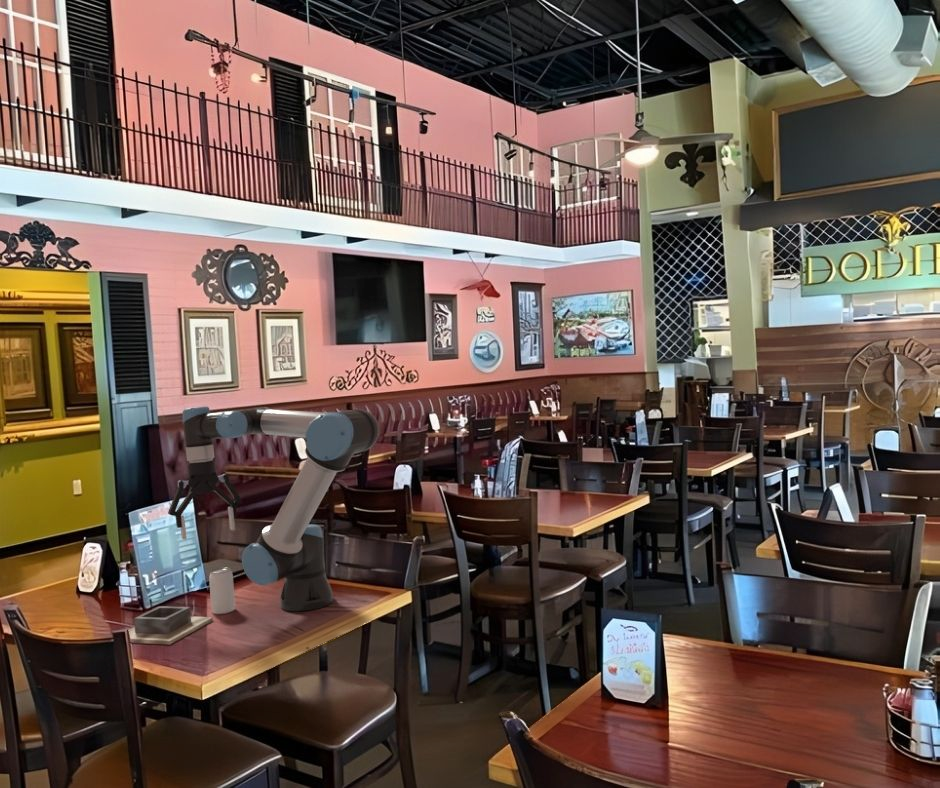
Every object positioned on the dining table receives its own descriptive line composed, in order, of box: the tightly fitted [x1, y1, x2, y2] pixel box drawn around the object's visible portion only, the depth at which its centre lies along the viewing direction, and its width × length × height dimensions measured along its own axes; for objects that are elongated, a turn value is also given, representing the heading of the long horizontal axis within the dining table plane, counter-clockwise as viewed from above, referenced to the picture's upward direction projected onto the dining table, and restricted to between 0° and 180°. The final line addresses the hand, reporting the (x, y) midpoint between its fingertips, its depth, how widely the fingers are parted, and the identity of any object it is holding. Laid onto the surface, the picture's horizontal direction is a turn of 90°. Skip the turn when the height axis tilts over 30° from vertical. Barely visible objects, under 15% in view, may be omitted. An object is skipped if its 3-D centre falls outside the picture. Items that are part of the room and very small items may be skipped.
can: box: [208, 567, 236, 616], centre depth 222 cm, size 6×6×12 cm
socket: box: [127, 605, 214, 645], centre depth 207 cm, size 18×18×5 cm
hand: (208, 534), depth 221 cm, fingers open, 13 cm apart
